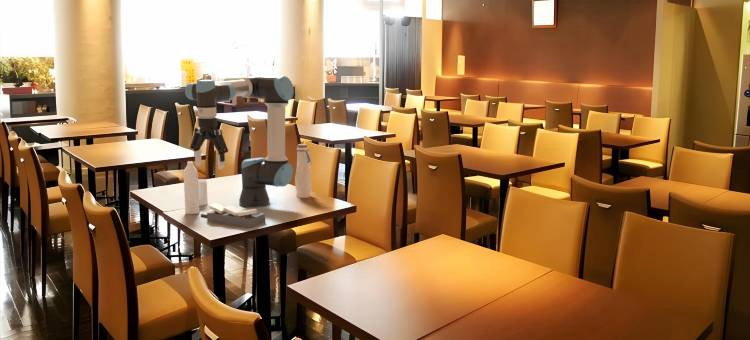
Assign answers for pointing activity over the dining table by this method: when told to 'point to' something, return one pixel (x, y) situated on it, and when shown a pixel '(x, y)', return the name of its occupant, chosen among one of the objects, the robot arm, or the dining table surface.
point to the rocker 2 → (232, 210)
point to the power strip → (236, 219)
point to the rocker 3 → (247, 212)
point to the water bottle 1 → (191, 189)
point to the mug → (202, 192)
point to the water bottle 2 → (303, 172)
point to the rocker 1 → (217, 208)
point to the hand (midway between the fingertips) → (209, 167)
